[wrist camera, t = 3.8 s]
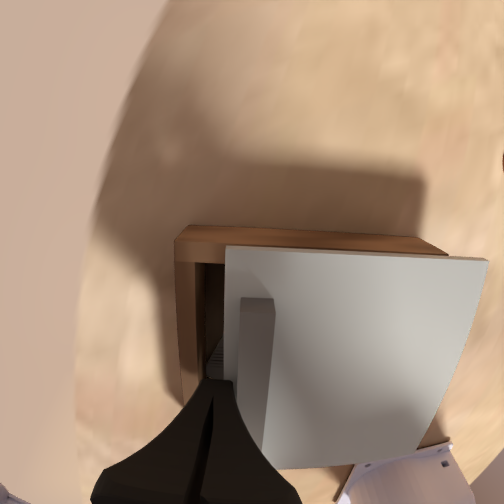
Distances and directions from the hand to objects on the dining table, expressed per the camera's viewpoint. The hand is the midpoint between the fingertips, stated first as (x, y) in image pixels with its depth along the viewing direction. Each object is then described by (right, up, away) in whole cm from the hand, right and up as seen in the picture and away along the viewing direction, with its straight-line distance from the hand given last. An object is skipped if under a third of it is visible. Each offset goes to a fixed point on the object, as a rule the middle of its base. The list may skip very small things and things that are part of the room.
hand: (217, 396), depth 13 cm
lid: (+6, 0, +1) cm, 6 cm away
